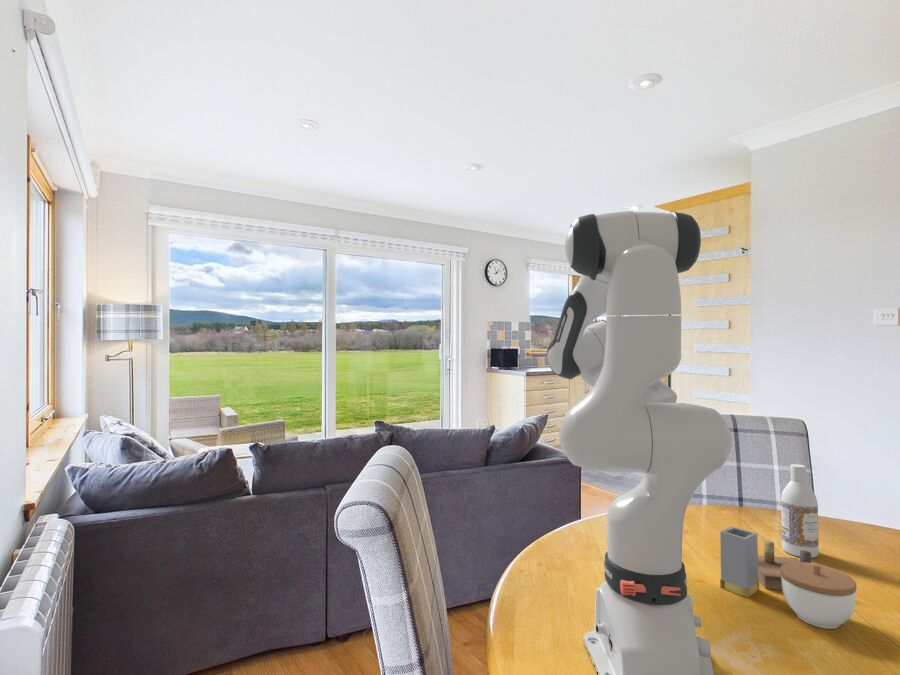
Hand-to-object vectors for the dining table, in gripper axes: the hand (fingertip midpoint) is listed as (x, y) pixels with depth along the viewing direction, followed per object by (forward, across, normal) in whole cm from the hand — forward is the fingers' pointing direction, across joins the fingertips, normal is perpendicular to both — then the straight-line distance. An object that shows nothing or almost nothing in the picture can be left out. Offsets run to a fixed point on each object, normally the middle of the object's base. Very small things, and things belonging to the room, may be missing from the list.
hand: (657, 426), depth 109 cm
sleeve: (+29, 0, +18) cm, 34 cm away
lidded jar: (+40, +4, +11) cm, 42 cm away
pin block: (+30, +12, +20) cm, 38 cm away
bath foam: (+25, +28, +27) cm, 46 cm away
